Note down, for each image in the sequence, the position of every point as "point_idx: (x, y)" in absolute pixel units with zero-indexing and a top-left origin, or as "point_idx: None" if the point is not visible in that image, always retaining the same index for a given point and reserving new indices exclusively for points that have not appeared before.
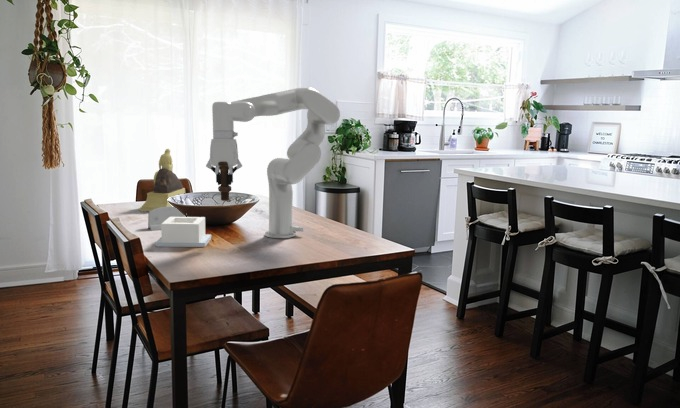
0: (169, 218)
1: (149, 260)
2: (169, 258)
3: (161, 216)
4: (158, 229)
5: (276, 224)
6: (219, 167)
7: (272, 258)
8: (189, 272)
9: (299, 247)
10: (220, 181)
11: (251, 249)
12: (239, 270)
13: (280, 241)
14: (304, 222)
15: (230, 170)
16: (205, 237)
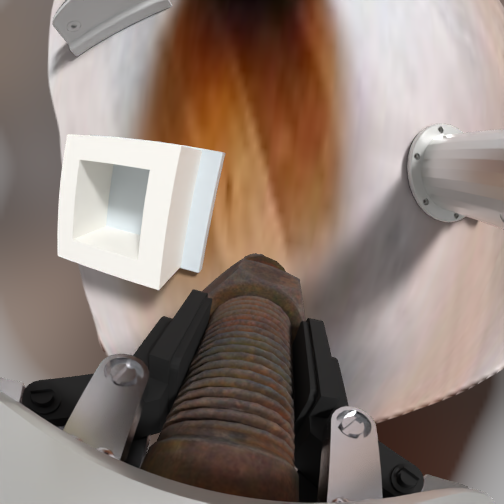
0: (66, 169)
1: (102, 346)
2: (132, 346)
3: (83, 15)
4: (91, 46)
5: (453, 208)
6: (126, 454)
7: (348, 391)
8: None
9: (438, 318)
10: (201, 336)
11: (328, 320)
12: None
13: (426, 248)
14: (498, 52)
15: (304, 496)
16: (200, 197)
